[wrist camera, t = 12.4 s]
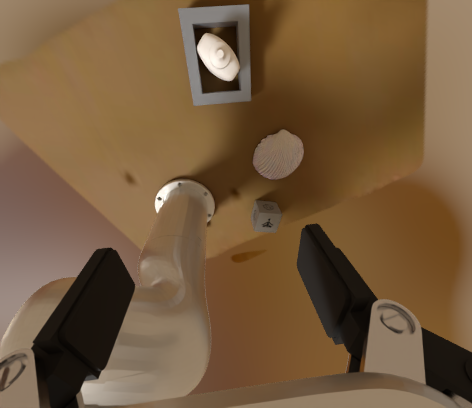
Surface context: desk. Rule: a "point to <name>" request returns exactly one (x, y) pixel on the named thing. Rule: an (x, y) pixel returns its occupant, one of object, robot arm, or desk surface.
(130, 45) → the desk surface
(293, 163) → the seashell
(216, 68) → the eye dropper bottle
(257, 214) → the dice cube
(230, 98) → the bottle holder
